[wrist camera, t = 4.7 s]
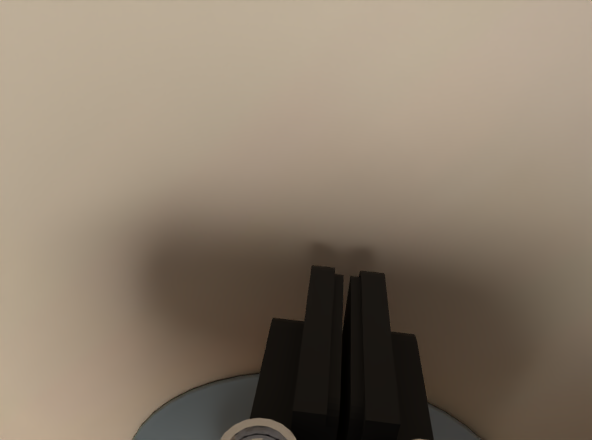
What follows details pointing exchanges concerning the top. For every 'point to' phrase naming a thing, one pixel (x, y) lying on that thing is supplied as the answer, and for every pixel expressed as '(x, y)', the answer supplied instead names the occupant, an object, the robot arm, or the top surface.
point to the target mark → (243, 414)
